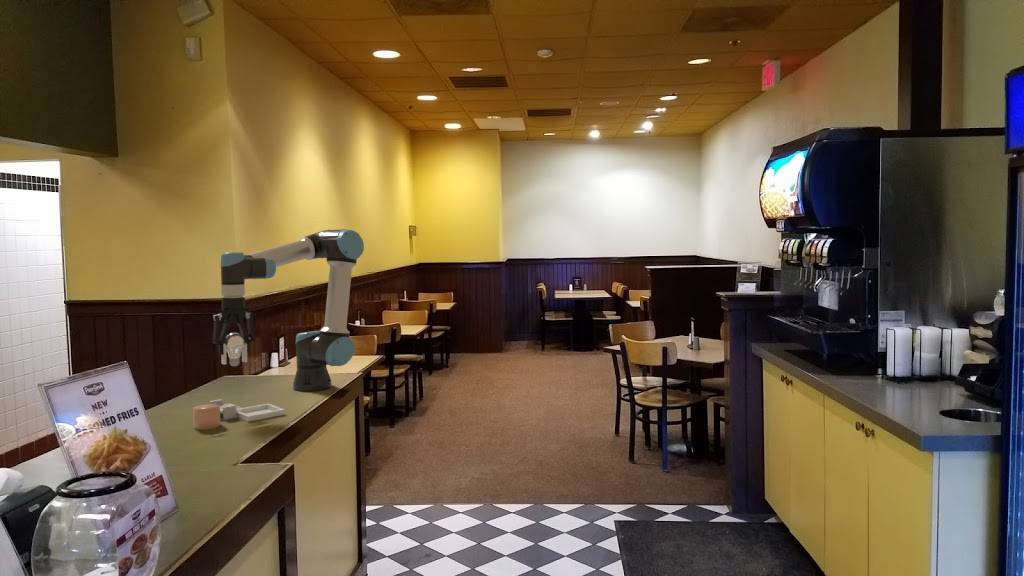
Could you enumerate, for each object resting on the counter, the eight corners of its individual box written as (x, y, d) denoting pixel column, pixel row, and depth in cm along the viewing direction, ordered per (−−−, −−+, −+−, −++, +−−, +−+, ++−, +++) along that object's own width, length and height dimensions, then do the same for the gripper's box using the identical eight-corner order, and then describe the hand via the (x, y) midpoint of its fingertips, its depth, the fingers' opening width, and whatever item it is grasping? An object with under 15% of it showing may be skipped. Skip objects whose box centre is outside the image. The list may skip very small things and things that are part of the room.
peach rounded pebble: (215, 423, 235) (214, 403, 235) (224, 428, 229) (223, 407, 229) (190, 428, 230) (189, 407, 229) (199, 433, 224) (198, 411, 223)
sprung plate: (230, 406, 249) (230, 403, 249) (241, 410, 243) (241, 407, 242) (204, 410, 243) (204, 407, 243) (214, 415, 236) (214, 412, 236)
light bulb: (237, 368, 242) (237, 334, 242) (219, 368, 244) (219, 333, 243) (249, 365, 249) (249, 331, 249) (231, 365, 251) (231, 331, 250)
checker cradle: (229, 411, 251) (228, 397, 251) (245, 418, 241) (245, 404, 241) (200, 416, 245) (199, 402, 244) (216, 424, 234) (215, 409, 234)
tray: (268, 410, 252) (268, 403, 252) (285, 416, 243) (284, 409, 243) (232, 417, 244) (231, 409, 243) (248, 424, 234) (247, 416, 234)
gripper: (256, 295, 255) (257, 358, 256) (200, 297, 241) (201, 364, 242) (265, 296, 249) (266, 361, 250) (208, 298, 236) (209, 367, 237)
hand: (234, 362), depth 246 cm, fingers closed on light bulb, 6 cm apart
